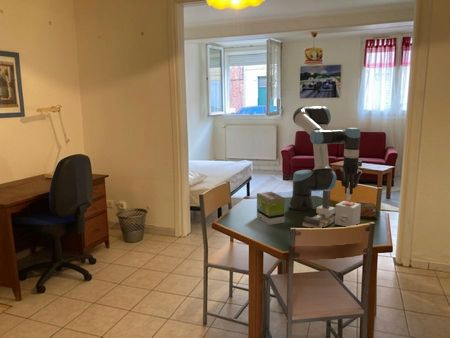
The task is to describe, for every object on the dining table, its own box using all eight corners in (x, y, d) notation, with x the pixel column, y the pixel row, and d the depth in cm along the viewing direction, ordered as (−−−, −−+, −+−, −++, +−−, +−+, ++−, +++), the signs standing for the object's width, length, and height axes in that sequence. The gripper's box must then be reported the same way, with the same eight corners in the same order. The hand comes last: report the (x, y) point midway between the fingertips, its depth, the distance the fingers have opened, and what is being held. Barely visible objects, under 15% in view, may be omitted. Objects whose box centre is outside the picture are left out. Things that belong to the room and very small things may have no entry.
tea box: (256, 217, 224) (256, 192, 221) (271, 215, 228) (271, 191, 225) (268, 225, 210) (269, 199, 208) (284, 222, 214) (285, 197, 212)
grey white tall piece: (329, 218, 213) (330, 192, 211) (316, 216, 218) (317, 190, 216) (334, 215, 219) (336, 190, 216) (321, 213, 224) (323, 188, 221)
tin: (349, 215, 228) (350, 201, 227) (349, 213, 231) (350, 199, 230) (376, 217, 223) (377, 203, 221) (376, 216, 226) (377, 202, 224)
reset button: (341, 208, 211) (342, 203, 210) (345, 206, 215) (345, 201, 214) (350, 210, 208) (351, 205, 207) (354, 208, 212) (354, 203, 211)
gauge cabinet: (334, 224, 212) (335, 204, 210) (342, 219, 220) (343, 200, 218) (352, 228, 205) (353, 208, 203) (359, 223, 213) (360, 203, 211)
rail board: (319, 229, 203) (320, 220, 202) (302, 225, 209) (302, 216, 208) (339, 218, 221) (339, 210, 220) (322, 215, 227) (323, 207, 226)
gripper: (336, 156, 207) (334, 199, 212) (360, 159, 199) (357, 203, 204) (342, 154, 213) (339, 196, 218) (365, 157, 205) (362, 200, 209)
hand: (348, 199), depth 211 cm, fingers closed
